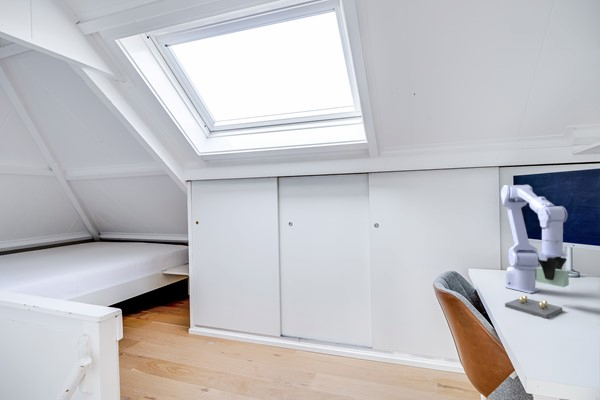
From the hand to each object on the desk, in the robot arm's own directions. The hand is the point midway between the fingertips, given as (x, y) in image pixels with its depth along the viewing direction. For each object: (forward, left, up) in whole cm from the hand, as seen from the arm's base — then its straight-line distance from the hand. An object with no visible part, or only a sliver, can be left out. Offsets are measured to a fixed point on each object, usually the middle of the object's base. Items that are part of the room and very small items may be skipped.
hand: (552, 278), depth 109 cm
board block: (0, 0, -2) cm, 2 cm away
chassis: (-2, -10, -9) cm, 14 cm away
